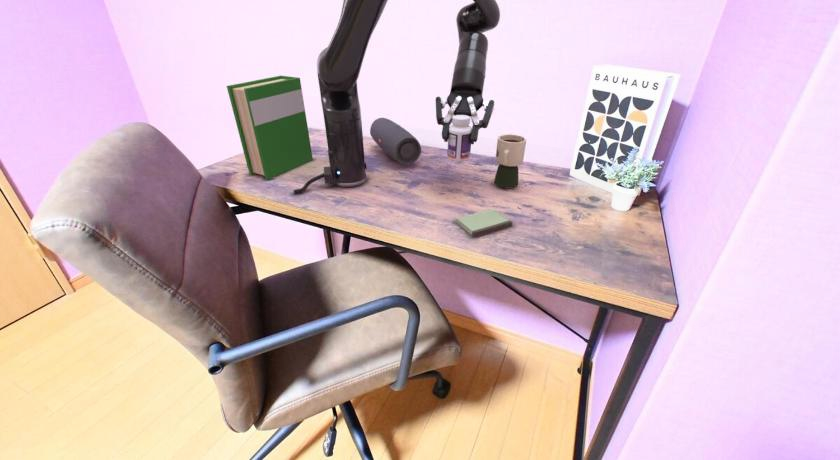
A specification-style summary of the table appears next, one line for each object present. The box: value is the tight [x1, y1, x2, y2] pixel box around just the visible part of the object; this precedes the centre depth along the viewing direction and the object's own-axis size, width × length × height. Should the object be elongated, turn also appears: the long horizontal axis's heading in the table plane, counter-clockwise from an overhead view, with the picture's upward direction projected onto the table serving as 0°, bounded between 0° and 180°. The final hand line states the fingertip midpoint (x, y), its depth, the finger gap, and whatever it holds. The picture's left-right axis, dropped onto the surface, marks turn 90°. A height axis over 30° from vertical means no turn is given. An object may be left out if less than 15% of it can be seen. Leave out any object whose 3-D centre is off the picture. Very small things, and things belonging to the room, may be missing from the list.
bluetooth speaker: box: [369, 117, 422, 166], centre depth 115 cm, size 23×9×10 cm, turn 25°
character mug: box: [493, 133, 527, 189], centre depth 96 cm, size 11×7×13 cm, turn 152°
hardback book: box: [226, 75, 314, 181], centre depth 104 cm, size 18×7×24 cm, turn 150°
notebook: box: [455, 208, 513, 238], centre depth 82 cm, size 10×7×1 cm
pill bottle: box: [447, 115, 472, 163], centre depth 86 cm, size 5×5×10 cm
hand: (458, 141), depth 84 cm, fingers closed on pill bottle, 5 cm apart
